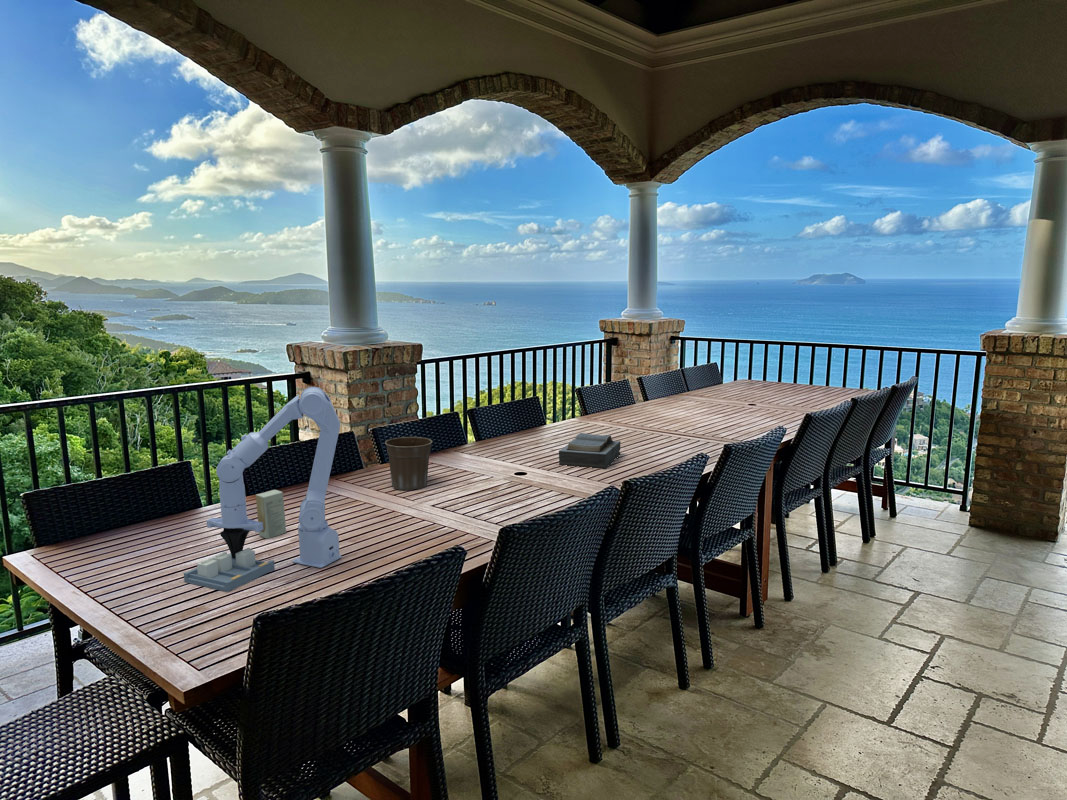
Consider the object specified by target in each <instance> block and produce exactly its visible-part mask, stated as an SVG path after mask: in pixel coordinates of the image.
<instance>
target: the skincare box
mask: <svg viewBox="0 0 1067 800" xmlns="http://www.w3.org/2000/svg"><path fill="white" fill-rule="evenodd" d="M255 500H256V501H255V502H256V513H257V521H258V522H263V530H262V531H260V532H258V536H259V537H261V538H264V539H266V540H267V539H270V538H271V539H272V538H273V537H277V536H280V535H284V534H286V533H287V525H286V512H285V502H284V492H283V491H281V490H277V489H271V490H268V491H265V492H261V493H257V494H255Z"/></svg>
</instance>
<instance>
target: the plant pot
mask: <svg viewBox="0 0 1067 800" xmlns="http://www.w3.org/2000/svg"><path fill="white" fill-rule="evenodd" d="M384 444H385V446H386V451H387V452H386V454H387V455H388V463H389V471H390V480H391V487H392V488H393V489H394V490H398V491H404V492H405V491H413V490H415V489H416V490H421V489H422V490H423V489H424V488H426V487H427V486H428V475H429V474H428V473H429V462H430V461H429V460H430V453H431V449H432V448H431V447H432V444H433V440H432V439H430V438H426V437H421V436H405V437H404V436H402V437H394V438H390V439H387V440H385V442H384Z"/></svg>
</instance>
